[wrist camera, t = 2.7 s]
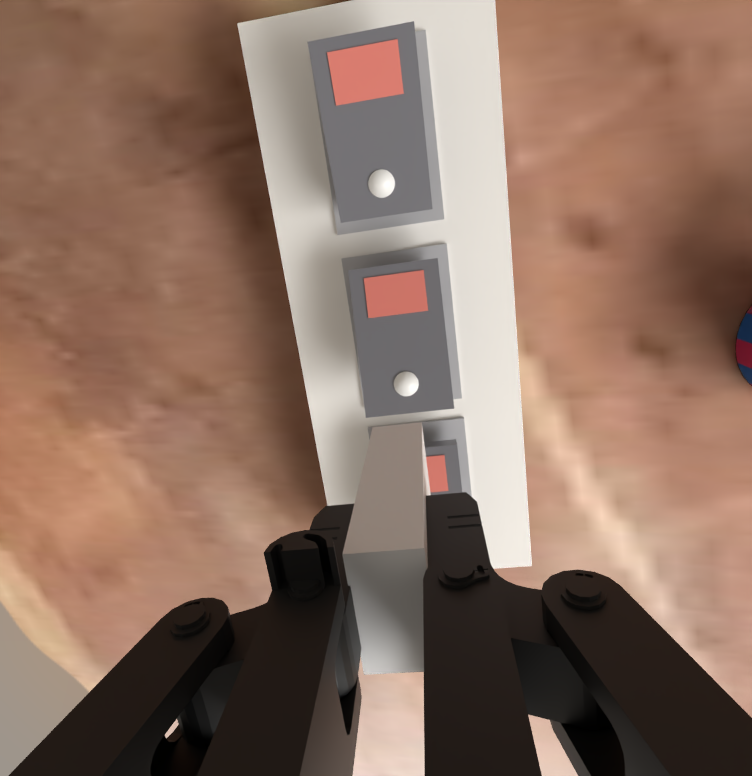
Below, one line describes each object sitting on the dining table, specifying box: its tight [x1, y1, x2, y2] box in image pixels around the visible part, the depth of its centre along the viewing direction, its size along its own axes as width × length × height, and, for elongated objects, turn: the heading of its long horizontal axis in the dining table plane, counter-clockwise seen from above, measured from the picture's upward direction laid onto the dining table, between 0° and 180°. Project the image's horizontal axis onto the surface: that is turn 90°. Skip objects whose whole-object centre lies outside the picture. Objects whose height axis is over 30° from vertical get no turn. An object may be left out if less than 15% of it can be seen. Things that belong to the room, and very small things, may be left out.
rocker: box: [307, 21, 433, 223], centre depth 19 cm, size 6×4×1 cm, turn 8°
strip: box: [237, 0, 532, 569], centre depth 24 cm, size 34×10×5 cm, turn 8°
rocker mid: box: [348, 258, 454, 418], centre depth 22 cm, size 6×4×2 cm, turn 8°
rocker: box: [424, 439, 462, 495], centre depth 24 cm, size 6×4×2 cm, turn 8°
